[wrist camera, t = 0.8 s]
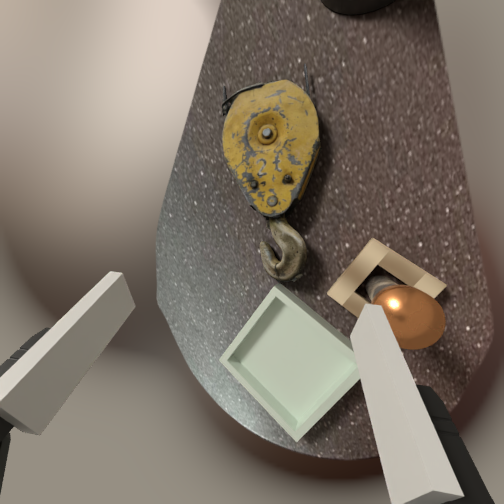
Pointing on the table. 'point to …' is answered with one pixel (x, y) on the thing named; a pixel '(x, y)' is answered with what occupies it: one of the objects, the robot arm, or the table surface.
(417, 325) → the steel pin
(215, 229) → the table surface
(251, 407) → the table surface
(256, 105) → the pulley block
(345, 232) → the table surface
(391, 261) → the bracket
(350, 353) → the pale green tray
